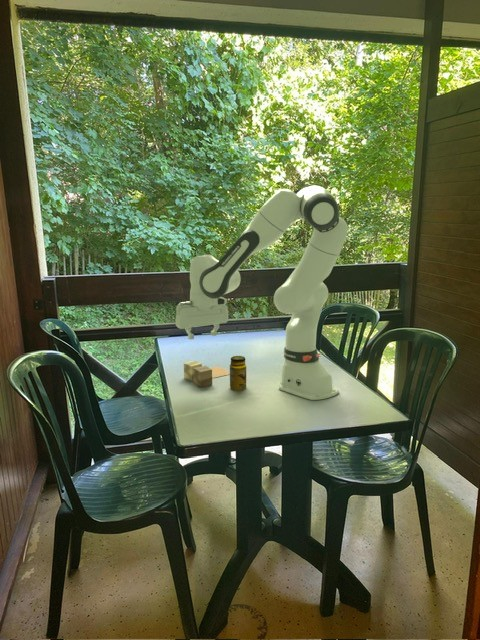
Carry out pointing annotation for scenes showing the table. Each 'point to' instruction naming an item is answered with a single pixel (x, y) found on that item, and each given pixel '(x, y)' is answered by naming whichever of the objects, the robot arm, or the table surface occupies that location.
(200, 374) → the walnut block
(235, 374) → the condiment
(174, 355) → the table surface
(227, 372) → the coaster
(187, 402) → the table surface
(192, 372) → the oak block
